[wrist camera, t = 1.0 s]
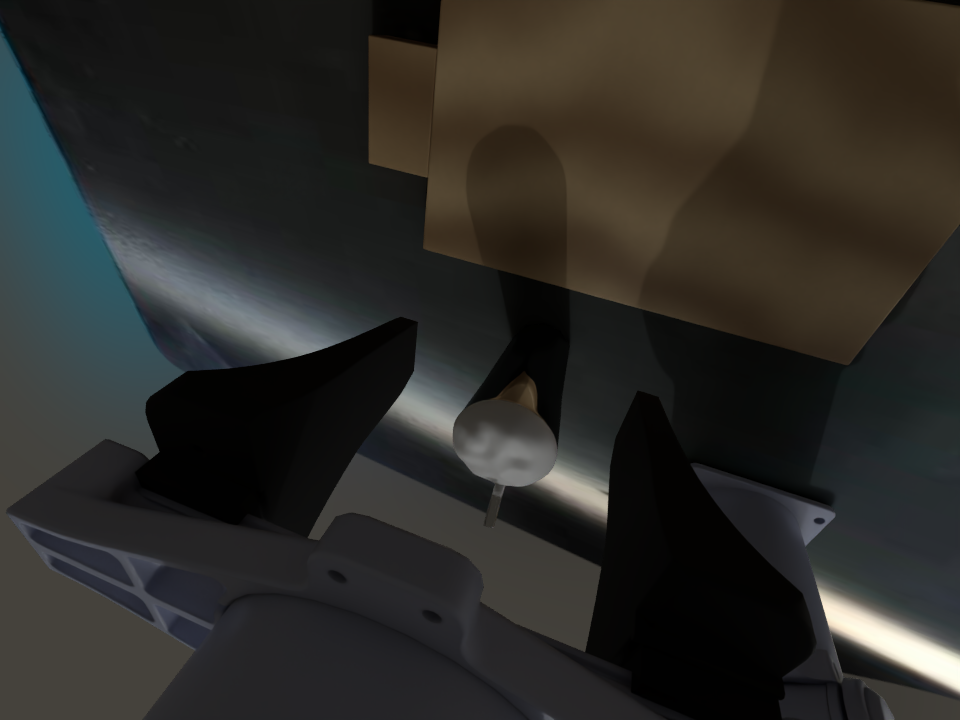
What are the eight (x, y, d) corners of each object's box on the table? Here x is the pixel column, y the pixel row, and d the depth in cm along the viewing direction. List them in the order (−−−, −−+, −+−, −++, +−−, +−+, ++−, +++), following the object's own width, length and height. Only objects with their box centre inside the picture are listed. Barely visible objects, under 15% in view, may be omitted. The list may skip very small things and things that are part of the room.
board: (837, 348, 21) (848, 366, 20) (382, 225, 25) (368, 234, 24) (1077, 29, 14) (1115, 28, 13) (386, -76, 18) (367, -85, 17)
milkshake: (499, 382, 28) (438, 513, 20) (504, 304, 25) (434, 423, 17) (573, 398, 27) (539, 542, 19) (588, 319, 24) (554, 451, 16)
